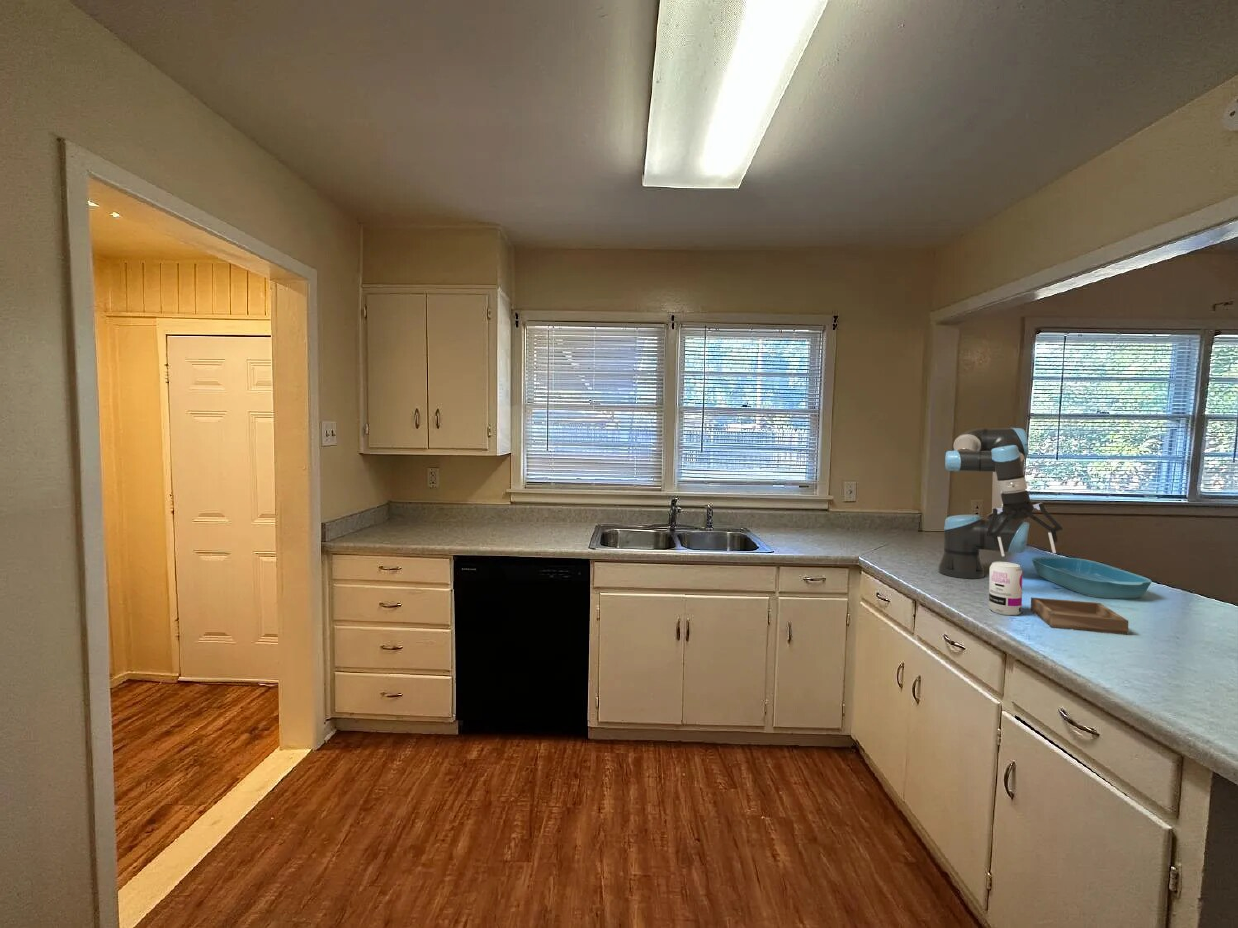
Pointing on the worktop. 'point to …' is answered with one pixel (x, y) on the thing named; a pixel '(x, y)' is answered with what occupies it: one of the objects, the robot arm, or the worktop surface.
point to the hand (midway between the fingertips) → (1028, 554)
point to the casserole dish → (1091, 577)
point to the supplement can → (1005, 588)
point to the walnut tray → (1079, 616)
